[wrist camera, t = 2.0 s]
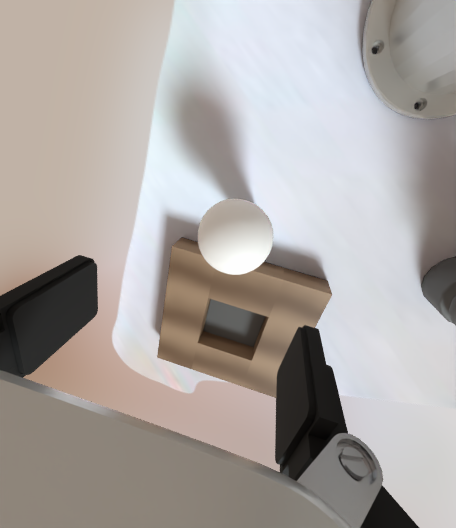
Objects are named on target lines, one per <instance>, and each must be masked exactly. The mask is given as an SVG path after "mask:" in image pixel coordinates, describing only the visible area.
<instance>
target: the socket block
mask: <svg viewBox="0 0 456 528" xmlns="http://www.w3.org/2000/svg"><path fill="white" fill-rule="evenodd" d="M331 296H332V293H331V290H330V287H329V284H328V281H327V280H323V279H320V278H316V277H313V276H310V275H306V274H303V273H300V272H296V271H293V270H290V269H286V268H283V267H280V266H276V265H273V264H270V263H266V262H263V263H262V264H261V265H260V266H259V267H257V268H256V269H254V270H252V271H250V272H248V273H245V274H240V275H232V274H226V273H223V272H220V271H218V270H216V269H215V268H213V267H212V266H211V265H210V264H209V263H208V262H207V261H206V260H205V259H204V257H203V255H202V254H201V251H200V249H199V244H198V242H196V241H192V240H189V239H186V238H181V239H179V240H178V241H177V242H176V243H175V244H174V245H173V246H172V250H171V257H170V265H169V272H168V280H167V288H166V295H165V303H164V310H163V318H162V325H161V333H160V340H159V348H158V356H157V357H158V358H161V359H163V360H166V361H169V362H172V363H175V364H178V365H181V366H184V367H187V368H190V369H193V370H196V371H199V372H202V373H205V374H207V375H210V376H213V377H216V378H219V379H222V380H225V381H228V382H231V383H234V384H237V385H240V386H243V387H246V388H249V389H251V390H255V391H258V392H260V393H263V394H266V395H269V396H272V397H275V398H276V386H277V372H278V369H279V367H280V365H281V362H282V360H283V358H284V356H285V354H286V352H287V350H288V348H289V346H290V343H291V341H292V339H293V337H294V335H295V333H296V331H297V329H298V327H303V326H304V325H307V326H310V327H313V328H315V327H316V325H317V323H318V321H319V319H320V317H321V315H322V313H323V311H324V309H325V307H326V305H327V303H328V302H329V300H330V298H331Z"/></svg>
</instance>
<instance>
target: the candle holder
mask: <svg viewBox="0 0 456 528" xmlns="http://www.w3.org/2000/svg"><path fill="white" fill-rule="evenodd" d="M421 287H422V291H423V295H424V297H425V298H426V299H427V300H428V301H429V302H430V303H431V304H432V305H433V306H434V307H435V308H436V309H437V310H438V311H439V312H440V314H441V315H443V316H444V317H445V318H446V319H447V320H448V321H449V322H452V323H454V324H455V325H456V257H453V258H450V259H446V260H443V261H442V262H440V263H438V264H437V265H435V266H434V267H432V268H431V269H430V271H429V272H428V273H427V274H426V275H425V277H424V279H423V283H422V286H421Z"/></svg>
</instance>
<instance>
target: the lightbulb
mask: <svg viewBox="0 0 456 528" xmlns="http://www.w3.org/2000/svg"><path fill="white" fill-rule="evenodd" d="M198 244H199V249H200V251H201V254H202V255H203V257H204V259H205V260H206V261H207V262H208V263H209V264H210V265H211V266H212V267H213V268H215V269H216V270H218V271H220V272H223V273H226V274H232V275H240V274H245V273H248V272H250V271H252V270H254V269H256V268H257V267H259V266H260V265H261V264H262V263H263V262H264V261H265V260H266V258H267V257H268V255H269V253H270V251H271V248H272V244H273V228H272V225H271V222H270V220H269V218H268V216H267V215H266V214H265V212H264V211H263V210H262V209H261V208H260V207H258V206H257V205H256V204H254V203H252V202H250V201H247V200H244V199H236V198H235V199H227V200H224V201H220V202H219V203H217V204H215V205H214V206H212V207H211V208H210V209H209V210H208V211H207V212H206V213H205V215H204V216H203V218H202V220H201V222H200V225H199V229H198Z"/></svg>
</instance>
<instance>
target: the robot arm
mask: <svg viewBox="0 0 456 528" xmlns="http://www.w3.org/2000/svg"><path fill="white" fill-rule="evenodd" d="M372 48H377V53H376V54H373V53H372ZM362 52H363V61H364V69H365V72H366V75H367V78H368V81H369V84H370V86H371V87H372V89H373V91H374V92H375V94H376V96H377V97H378V98H379V99H380V100H381V101H382V102H383V103H384V104H385V105H386V106H387V107H389V108H390V109H392V110H394V111H395V112H397V113H399V114H401V115H405V116H408V117H411V118H419V119H435V118H443V117H449V116H453V115H456V0H372V1H371V4H370V7H369V9H368V13H367V18H366V22H365V27H364V32H363V49H362ZM415 103H418V108H417V109H416V110H415V108H414V105H415ZM97 311H98V297H97V265H96V264H95V263H94V260H93V259H91V258H87V257H84V256H81V255H79V256H76V257H74V258H73V259H70V260H68V261H66V262H65V263H63V264H61V265H59V266H57V267H55V268H53V269H51V270H49V271H47V272H45V273H43V274H41V275H40V276H38V277H36V278H34V279H32V280H30V281H28V282H26V283H24V284H22V285H20V286H18V287H16V288H15V289H13V290H11V291H9V292H7V293H5V294H3V295H2V296H0V528H419V527H418V526H417V525H416V524H415V522H414V521H413V520H412V519H411V518H410V517H409V516H408V515H407V513H406V512H405V511H404V510H403V509H402V508H401V507H400V505H399V504H398V503H397V502H396V501H395V500H394V499H393V497H392V496H391V495H390V494H389V493H388V492H387V490H386V489H385V488H384V487H383V486H382V482H383V476H382V470H381V467H380V465H379V462H378V460H377V458H376V457H375V455H374V453H373V452H372V451H371V450H370V449H369V448H368V446H367V445H366V444H365V443H363V442H362V441H361V440H360V439H359V438H356V437H355V436H353V435H351V434H348V431H347V427H346V424H345V419H344V415H343V410H342V406H341V402H340V398H339V394H338V389H337V385H336V381H335V377H334V373H333V370H332V368H331V366H329V365H326V361H325V357H324V352H323V347H322V343H321V338H320V333H319V330H318V329H317V328H313V327H310V326H307V325H304V326H303V327H298V329H297V331H296V333H295V335H294V337H293V339H292V341H291V343H290V346H289V348H288V350H287V352H286V354H285V356H284V358H283V360H282V362H281V365H280V367H279V369H278V372H277V386H276V449H275V450H276V451H275V460H276V463H277V464H280V472H277V471H275V470H273V469H271V468H268V467H266V466H264V465H262V464H260V463H257V462H254V461H252V460H249V459H247V458H244V457H241V456H239V455H236V454H233V453H231V452H228V451H226V450H223V449H220V448H218V447H215V446H213V445H210V444H207V443H204V442H201V441H199V440H196V439H193V438H190V437H188V436H185V435H182V434H179V433H177V432H173V431H171V430H168V429H166V428H163V427H160V426H157V425H154V424H152V423H149V422H146V421H144V420H141V419H138V418H135V417H132V416H130V415H126V414H124V413H121V412H118V411H116V410H113V409H110V408H107V407H104V406H101V405H99V404H96V403H93V402H90V401H87V400H84V399H82V398H79V397H76V396H73V395H71V394H67V393H65V392H62V391H59V390H56V389H53V388H50V387H48V386H45V385H42V384H39V383H36V382H33V381H30V380H27V379H25V378H23V377H24V376H25V375H29V374H31V373H32V372H34V371H35V370H36V369H37V368H38V367H39V366H40V365H41V364H43V363H44V362H45V361H46V360H47V359H48V358H49V357H50V356H51V355H52V354H54V353H55V352H56V351H57V350H58V349H59V348H60V347H62V346H63V345H64V344H65V343H66V342H67V341H68V340H69V339H71V337H72V336H74V335H75V334H76V333H77V332H78V331H79V330H80V329H82V328H83V327H84V326H85V325H86V324H87V323H88V322H89V321H91V320H92V319H93V318H94V317H95V315H96V314H97Z"/></svg>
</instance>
